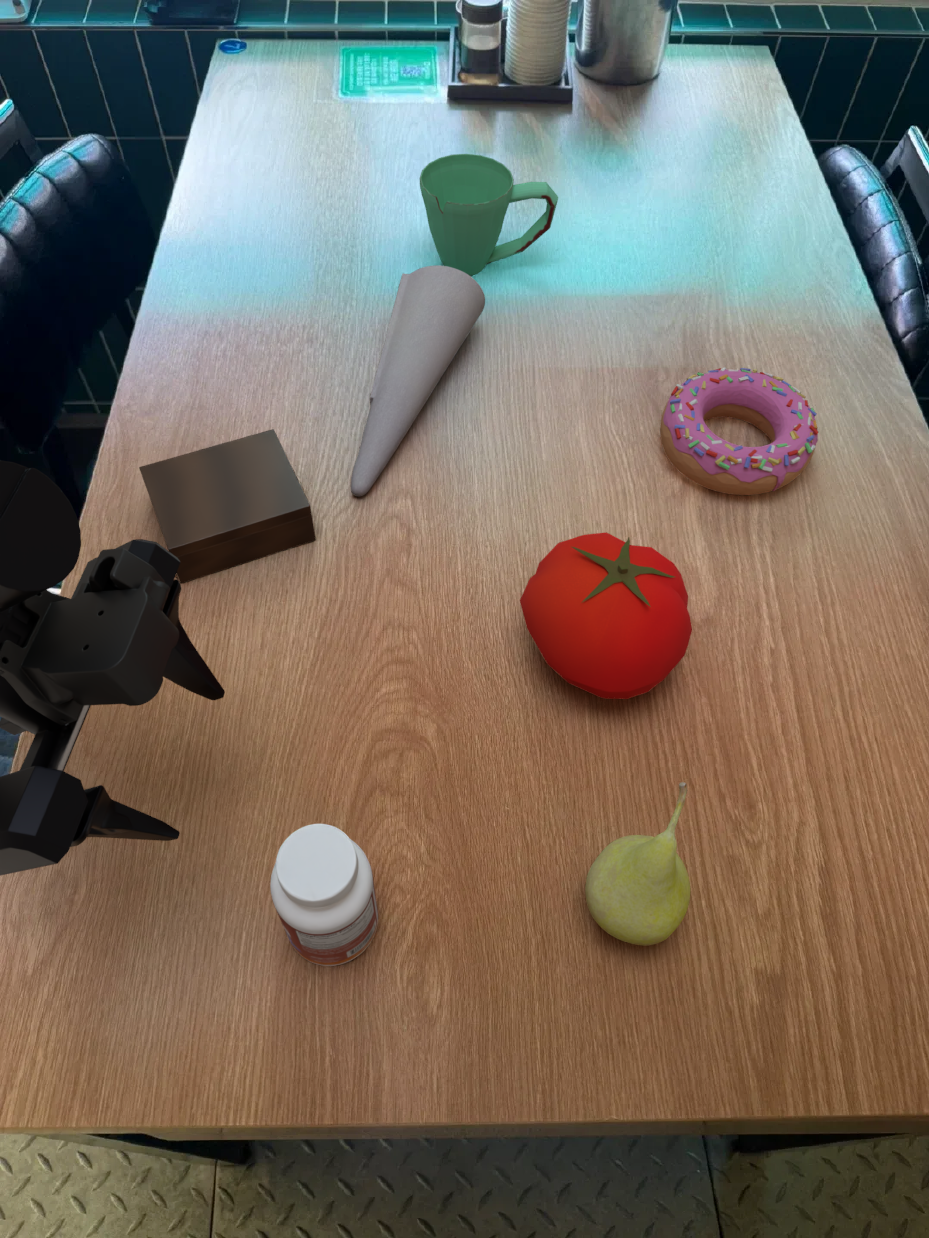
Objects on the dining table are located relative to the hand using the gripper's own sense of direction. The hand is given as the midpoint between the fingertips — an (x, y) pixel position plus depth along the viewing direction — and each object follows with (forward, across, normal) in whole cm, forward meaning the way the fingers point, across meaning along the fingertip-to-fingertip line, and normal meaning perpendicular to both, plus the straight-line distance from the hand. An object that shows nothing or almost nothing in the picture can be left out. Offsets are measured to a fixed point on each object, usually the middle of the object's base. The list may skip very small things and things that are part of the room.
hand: (198, 763), depth 56 cm
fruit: (+27, 0, -14) cm, 31 cm away
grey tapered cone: (+14, +46, +3) cm, 49 cm away
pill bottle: (+15, -4, +2) cm, 16 cm away
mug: (+16, +71, 0) cm, 73 cm away
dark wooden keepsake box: (+5, +29, +14) cm, 33 cm away
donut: (+32, +45, -21) cm, 59 cm away
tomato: (+25, +20, -11) cm, 34 cm away
